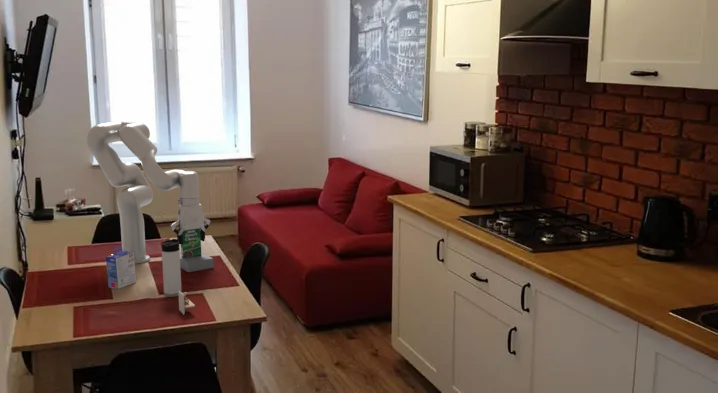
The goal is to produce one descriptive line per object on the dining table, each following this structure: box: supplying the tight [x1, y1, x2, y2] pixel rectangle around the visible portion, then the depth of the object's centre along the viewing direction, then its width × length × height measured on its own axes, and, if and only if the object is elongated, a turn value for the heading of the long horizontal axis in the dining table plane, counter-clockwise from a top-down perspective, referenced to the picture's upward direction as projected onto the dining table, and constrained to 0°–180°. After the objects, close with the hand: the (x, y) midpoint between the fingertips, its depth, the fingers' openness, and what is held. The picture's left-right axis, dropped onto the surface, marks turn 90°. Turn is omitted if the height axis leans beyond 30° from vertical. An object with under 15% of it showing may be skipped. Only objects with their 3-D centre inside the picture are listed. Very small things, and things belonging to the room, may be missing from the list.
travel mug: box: [161, 238, 183, 298], centre depth 264 cm, size 6×7×20 cm
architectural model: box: [178, 291, 196, 315], centre depth 247 cm, size 3×7×7 cm, turn 30°
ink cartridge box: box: [105, 246, 137, 290], centre depth 275 cm, size 10×6×14 cm, turn 155°
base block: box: [180, 252, 214, 273], centre depth 302 cm, size 11×16×4 cm
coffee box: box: [180, 228, 202, 258], centre depth 300 cm, size 8×3×13 cm, turn 117°
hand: (191, 242), depth 300 cm, fingers open, 9 cm apart
